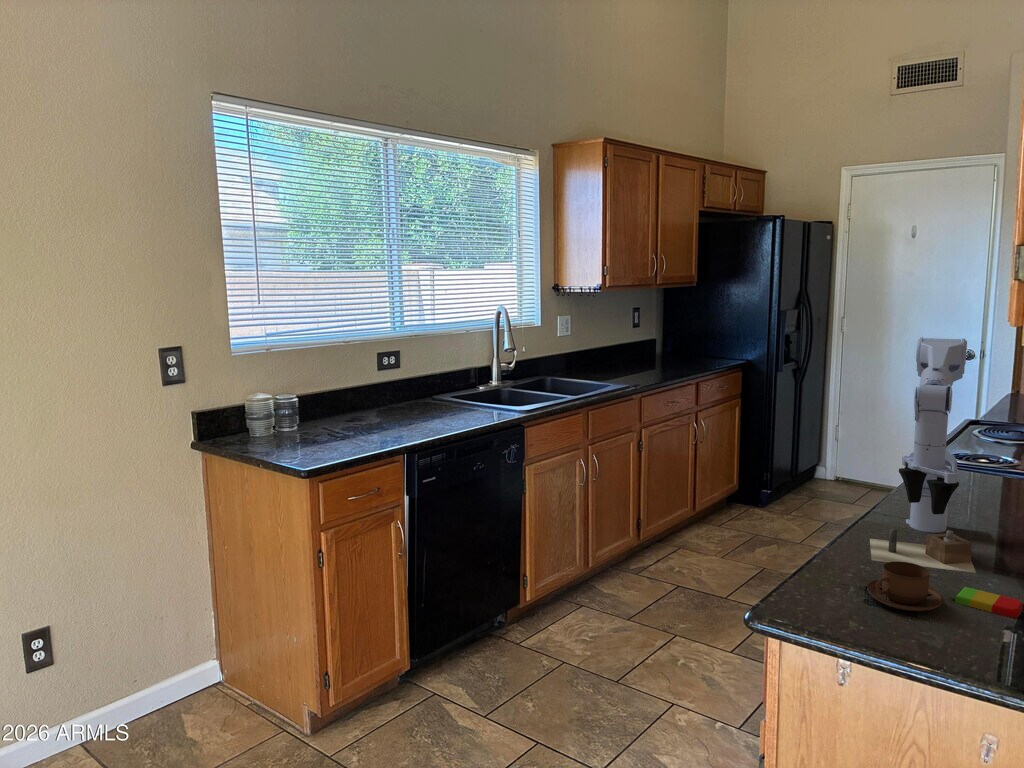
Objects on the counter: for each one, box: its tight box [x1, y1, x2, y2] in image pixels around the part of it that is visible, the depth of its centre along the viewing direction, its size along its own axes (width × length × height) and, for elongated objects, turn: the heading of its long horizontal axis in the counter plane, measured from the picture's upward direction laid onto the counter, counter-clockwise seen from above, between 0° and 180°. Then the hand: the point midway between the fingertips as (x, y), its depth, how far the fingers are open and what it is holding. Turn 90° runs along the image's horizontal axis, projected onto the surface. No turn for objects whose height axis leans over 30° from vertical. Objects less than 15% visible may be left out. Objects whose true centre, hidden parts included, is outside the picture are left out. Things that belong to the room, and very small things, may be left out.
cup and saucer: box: [866, 561, 944, 612], centre depth 135 cm, size 12×12×6 cm
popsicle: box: [954, 586, 1024, 619], centre depth 135 cm, size 6×15×2 cm, turn 46°
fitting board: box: [869, 528, 977, 574], centre depth 154 cm, size 13×18×6 cm
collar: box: [925, 533, 973, 564], centre depth 152 cm, size 6×6×4 cm
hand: (925, 507), depth 157 cm, fingers open, 7 cm apart
